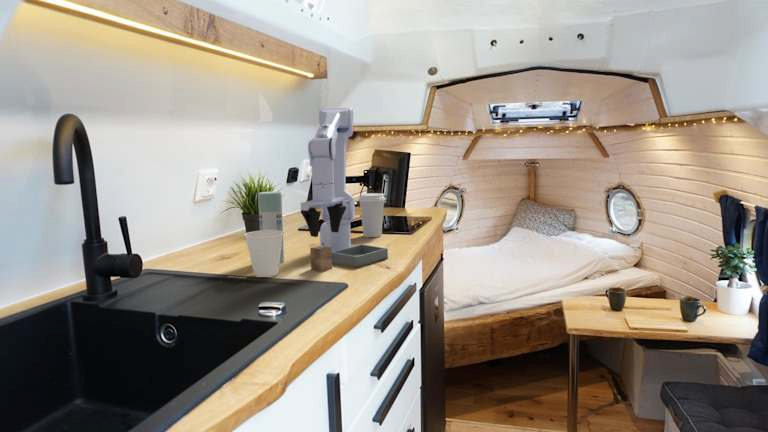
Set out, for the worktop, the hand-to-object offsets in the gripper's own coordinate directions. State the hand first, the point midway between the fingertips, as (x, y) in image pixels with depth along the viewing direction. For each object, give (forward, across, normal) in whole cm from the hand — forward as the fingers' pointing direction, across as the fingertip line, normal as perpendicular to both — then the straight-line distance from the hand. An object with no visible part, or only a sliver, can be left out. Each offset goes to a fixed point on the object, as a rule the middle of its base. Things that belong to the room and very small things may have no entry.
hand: (324, 234), depth 137 cm
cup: (+10, -14, +8) cm, 19 cm away
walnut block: (+10, -1, +1) cm, 10 cm away
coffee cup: (+10, +42, +20) cm, 48 cm away
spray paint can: (+10, -4, +18) cm, 21 cm away
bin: (+9, +12, -1) cm, 15 cm away
